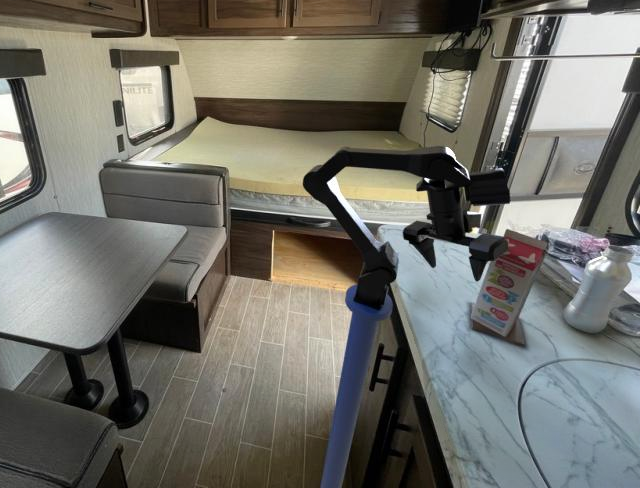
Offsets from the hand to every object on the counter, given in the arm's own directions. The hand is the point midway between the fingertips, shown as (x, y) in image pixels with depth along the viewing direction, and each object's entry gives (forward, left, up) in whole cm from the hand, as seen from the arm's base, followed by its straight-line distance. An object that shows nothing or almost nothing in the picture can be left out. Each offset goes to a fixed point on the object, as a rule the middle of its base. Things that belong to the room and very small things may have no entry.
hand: (454, 273), depth 70 cm
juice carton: (+10, +4, -11) cm, 15 cm away
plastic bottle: (+26, +14, -12) cm, 32 cm away
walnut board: (+10, +4, -12) cm, 16 cm away
